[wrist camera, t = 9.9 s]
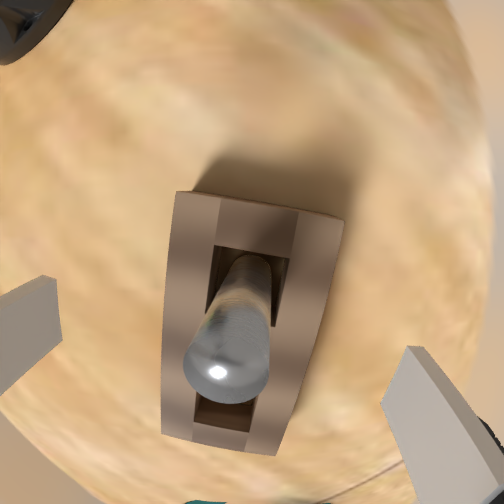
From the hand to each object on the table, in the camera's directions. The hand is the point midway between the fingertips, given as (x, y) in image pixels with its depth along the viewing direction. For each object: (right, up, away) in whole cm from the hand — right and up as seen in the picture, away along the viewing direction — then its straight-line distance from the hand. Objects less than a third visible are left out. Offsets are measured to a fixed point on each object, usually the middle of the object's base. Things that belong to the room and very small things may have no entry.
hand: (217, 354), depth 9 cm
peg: (+1, +2, +12) cm, 12 cm away
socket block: (0, -3, +13) cm, 13 cm away
